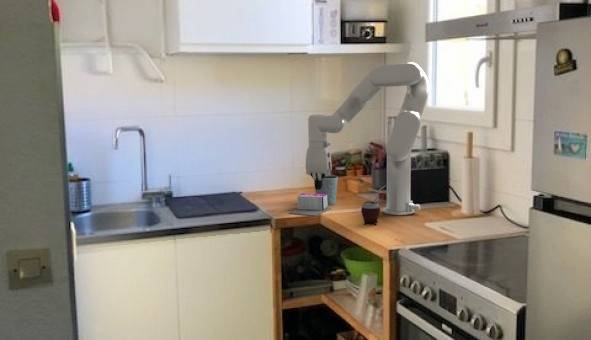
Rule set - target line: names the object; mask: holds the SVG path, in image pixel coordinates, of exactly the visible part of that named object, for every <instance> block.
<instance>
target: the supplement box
mask: <svg viewBox="0 0 591 340" xmlns="http://www.w3.org/2000/svg"><path fill="white" fill-rule="evenodd" d="M327 207H328V208H329V206H328V203H327V194H316V193H303V192H302V193H300V194H299V195H297V209H310V210H325V209H326V208H327Z"/></svg>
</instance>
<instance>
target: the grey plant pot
mask: <svg viewBox="0 0 591 340" xmlns="http://www.w3.org/2000/svg"><path fill="white" fill-rule="evenodd" d="M318 177H319V174H318ZM338 179H339V177H338V175H333V174H331V175H330V176H325V178H324V179H323V187H322V189H320V190H315V189H314V190H315V194H327V203H328V207H330V206H335V205H336V204H337V191H338V189H337V188H338V182H339V181H338Z"/></svg>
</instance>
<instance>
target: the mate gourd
mask: <svg viewBox="0 0 591 340" xmlns="http://www.w3.org/2000/svg"><path fill="white" fill-rule="evenodd" d="M385 187H387V184H385V185H384V186H381V187H380V188H379V189H378V190H377V194H376V196H375V199H374V201H365V202H363V203H362V205H361V209H360V211H361V215H362V219H363V226H366V225H367V226H368V225H372V226H377V224H378V223H379V221H378V220H379V216H380V214H381V206H380V205H379V203H378V202H377V200H378V198H379V195H380V193H381V191H382V189H384V188H385Z"/></svg>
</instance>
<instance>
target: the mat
mask: <svg viewBox="0 0 591 340" xmlns="http://www.w3.org/2000/svg"><path fill="white" fill-rule="evenodd" d="M331 209H332V207H329V206H328V207H327V208H326V209H325V210H310V209H298V208H296V209H294V210H292V211H289V212H288V214H289V215H297V216H299V215H301V216H306V217H307V216H308V217H309V216H310V217H317V216H318V215H321V214H323V213H326V212H327V211H329V210H331Z"/></svg>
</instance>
